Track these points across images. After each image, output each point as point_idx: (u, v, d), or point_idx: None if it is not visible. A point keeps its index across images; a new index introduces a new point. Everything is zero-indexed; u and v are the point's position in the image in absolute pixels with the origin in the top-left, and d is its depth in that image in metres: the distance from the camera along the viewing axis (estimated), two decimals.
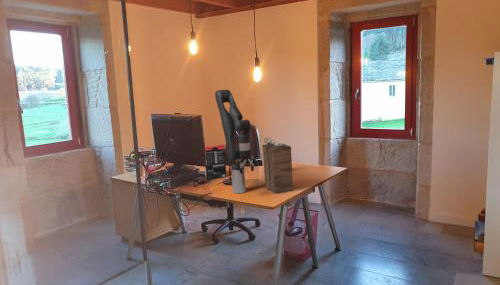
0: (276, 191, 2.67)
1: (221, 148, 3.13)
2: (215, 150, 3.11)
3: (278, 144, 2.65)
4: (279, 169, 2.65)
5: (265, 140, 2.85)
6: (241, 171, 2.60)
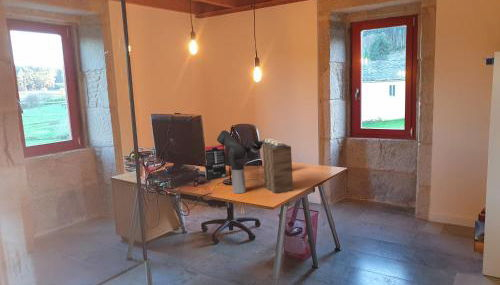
0: (276, 191, 2.67)
1: (221, 148, 3.13)
2: (215, 150, 3.11)
3: (278, 144, 2.65)
4: (279, 169, 2.65)
5: (265, 140, 2.85)
6: None
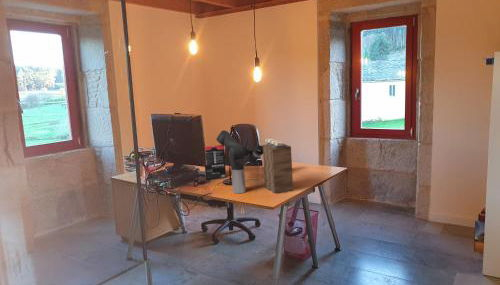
0: (276, 191, 2.67)
1: (220, 148, 3.12)
2: (214, 150, 3.11)
3: (278, 144, 2.65)
4: (279, 169, 2.65)
5: (265, 140, 2.85)
6: None
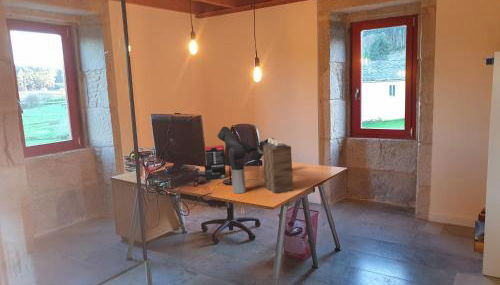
0: (276, 191, 2.67)
1: (220, 149, 3.11)
2: (214, 151, 3.10)
3: (278, 144, 2.65)
4: (279, 169, 2.65)
5: None
6: None
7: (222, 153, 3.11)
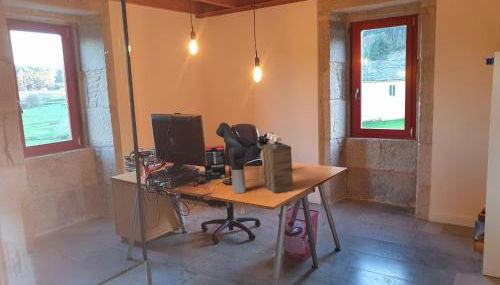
0: (276, 191, 2.67)
1: (220, 149, 3.11)
2: (214, 151, 3.10)
3: (277, 138, 2.66)
4: (279, 169, 2.65)
5: None
6: None
7: (222, 153, 3.11)
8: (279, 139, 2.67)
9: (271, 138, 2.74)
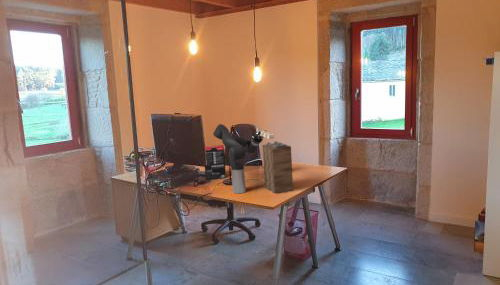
0: (276, 191, 2.67)
1: (220, 149, 3.11)
2: (214, 151, 3.10)
3: (270, 136, 2.78)
4: (279, 169, 2.65)
5: None
6: None
7: (222, 153, 3.11)
8: (272, 136, 2.78)
9: (264, 136, 2.85)
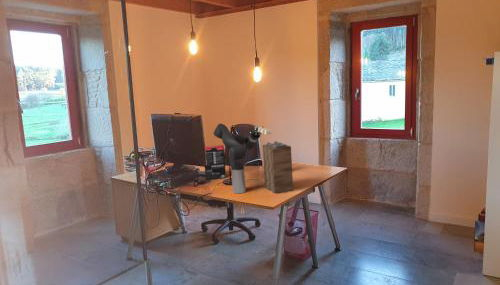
0: (276, 191, 2.67)
1: (220, 149, 3.11)
2: (214, 151, 3.10)
3: (267, 131, 2.82)
4: (279, 169, 2.65)
5: (255, 128, 3.02)
6: None
7: (222, 153, 3.11)
8: (269, 132, 2.83)
9: (262, 131, 2.90)
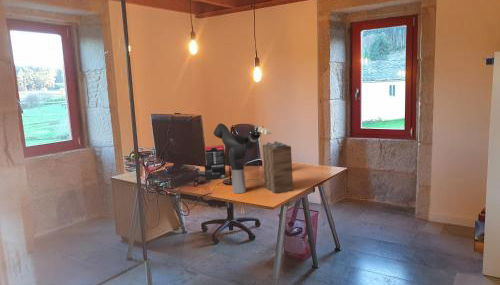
0: (276, 191, 2.67)
1: (220, 149, 3.11)
2: (214, 151, 3.10)
3: (267, 131, 2.82)
4: (279, 169, 2.65)
5: (255, 128, 3.02)
6: None
7: (222, 153, 3.11)
8: (269, 132, 2.83)
9: (262, 131, 2.90)
